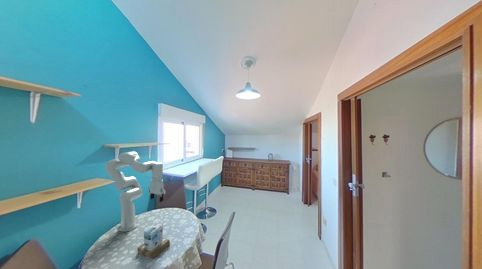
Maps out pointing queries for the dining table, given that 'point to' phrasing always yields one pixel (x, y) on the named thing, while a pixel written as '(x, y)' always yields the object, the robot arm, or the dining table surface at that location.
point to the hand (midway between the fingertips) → (156, 200)
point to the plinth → (154, 249)
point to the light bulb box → (153, 236)
